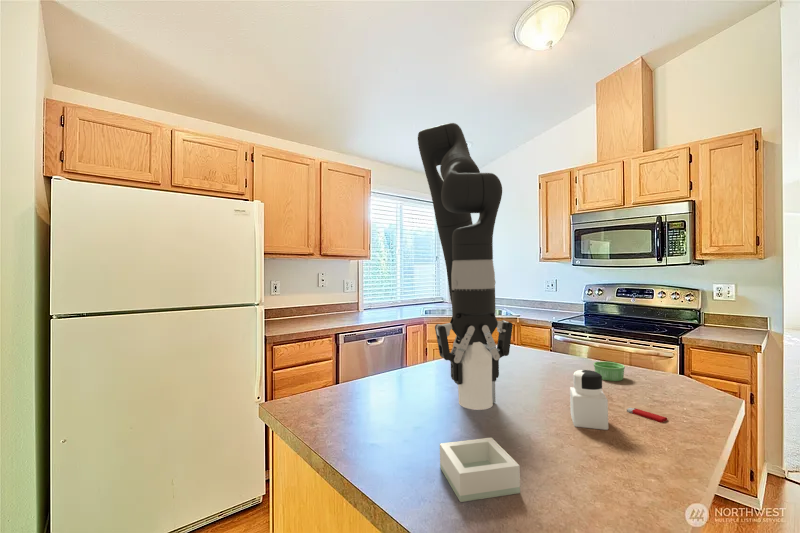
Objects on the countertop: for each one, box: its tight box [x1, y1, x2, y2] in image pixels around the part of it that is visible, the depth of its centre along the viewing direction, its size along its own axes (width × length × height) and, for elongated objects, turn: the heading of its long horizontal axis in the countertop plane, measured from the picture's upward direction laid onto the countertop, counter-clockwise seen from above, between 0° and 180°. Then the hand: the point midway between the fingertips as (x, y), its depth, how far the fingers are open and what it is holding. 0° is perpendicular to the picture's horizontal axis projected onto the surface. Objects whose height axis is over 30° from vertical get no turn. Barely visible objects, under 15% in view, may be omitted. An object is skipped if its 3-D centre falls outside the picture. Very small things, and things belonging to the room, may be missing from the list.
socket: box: [439, 437, 521, 503], centre depth 65 cm, size 10×10×4 cm
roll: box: [457, 342, 494, 411], centre depth 65 cm, size 6×12×6 cm
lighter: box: [626, 407, 668, 424], centre depth 90 cm, size 3×1×8 cm
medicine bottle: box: [569, 369, 609, 431], centre depth 87 cm, size 7×7×12 cm
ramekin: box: [593, 360, 625, 382], centre depth 122 cm, size 9×9×4 cm
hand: (474, 381), depth 65 cm, fingers closed on roll, 5 cm apart
